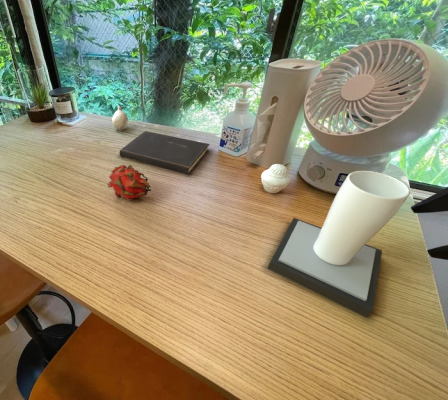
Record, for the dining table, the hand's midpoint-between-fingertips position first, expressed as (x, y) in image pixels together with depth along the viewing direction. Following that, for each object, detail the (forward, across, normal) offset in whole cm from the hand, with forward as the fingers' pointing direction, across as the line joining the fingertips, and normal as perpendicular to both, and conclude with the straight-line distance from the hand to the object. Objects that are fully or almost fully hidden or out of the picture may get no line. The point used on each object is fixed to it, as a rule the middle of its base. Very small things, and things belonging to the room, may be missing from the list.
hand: (419, 230), depth 35 cm
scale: (+14, 0, +3) cm, 14 cm away
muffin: (+21, -19, -4) cm, 29 cm away
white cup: (+12, 0, +2) cm, 12 cm away
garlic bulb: (+59, -37, -43) cm, 82 cm away
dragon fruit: (+43, -3, -26) cm, 50 cm away
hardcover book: (+43, -25, -27) cm, 57 cm away
